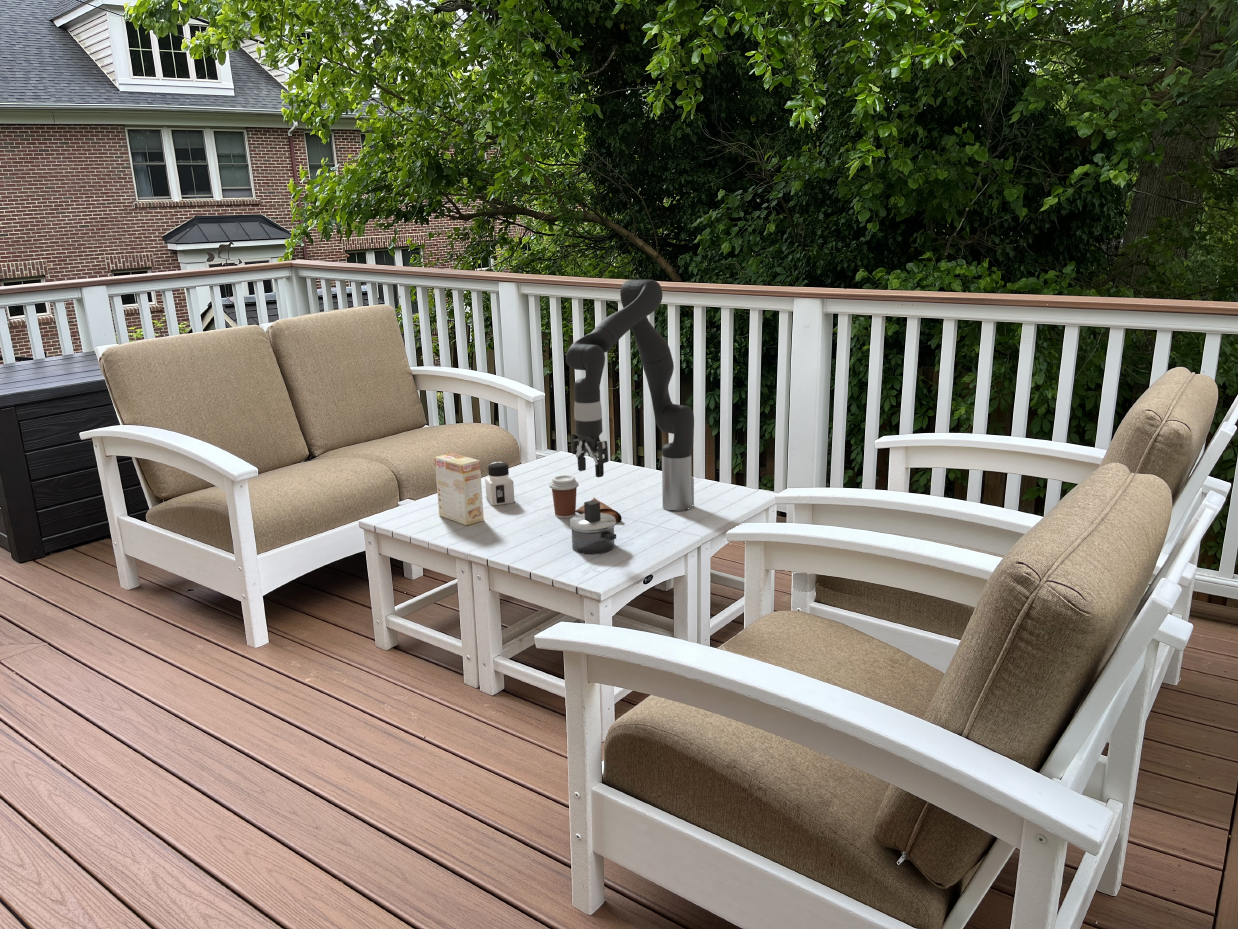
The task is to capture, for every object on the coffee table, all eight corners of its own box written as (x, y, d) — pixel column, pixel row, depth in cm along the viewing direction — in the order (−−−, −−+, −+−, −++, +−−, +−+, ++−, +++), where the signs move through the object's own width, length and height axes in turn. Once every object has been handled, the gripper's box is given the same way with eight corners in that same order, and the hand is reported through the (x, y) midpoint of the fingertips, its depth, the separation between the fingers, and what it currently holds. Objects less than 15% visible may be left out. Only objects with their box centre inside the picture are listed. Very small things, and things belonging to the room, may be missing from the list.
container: (514, 503, 311) (512, 464, 307) (491, 506, 308) (489, 467, 305) (508, 496, 318) (506, 459, 314) (486, 499, 315) (483, 462, 312)
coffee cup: (566, 508, 304) (564, 472, 301) (585, 514, 298) (584, 477, 295) (544, 515, 298) (542, 478, 294) (564, 521, 292) (562, 484, 288)
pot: (592, 533, 281) (591, 510, 279) (631, 550, 266) (630, 527, 264) (556, 542, 274) (555, 519, 272) (594, 561, 259) (593, 537, 257)
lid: (598, 513, 277) (597, 492, 275) (625, 524, 266) (624, 503, 265) (560, 522, 269) (560, 501, 268) (587, 534, 259) (586, 512, 257)
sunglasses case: (572, 510, 302) (581, 491, 301) (589, 517, 305) (598, 499, 305) (597, 526, 286) (607, 506, 286) (615, 534, 290) (625, 514, 290)
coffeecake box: (484, 520, 295) (480, 460, 289) (466, 526, 290) (461, 464, 285) (456, 510, 305) (452, 451, 300) (438, 515, 300) (433, 456, 295)
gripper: (614, 418, 256) (616, 476, 260) (584, 410, 267) (587, 465, 271) (591, 423, 252) (594, 481, 256) (562, 414, 263) (565, 470, 267)
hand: (590, 473), depth 264 cm, fingers open, 8 cm apart
